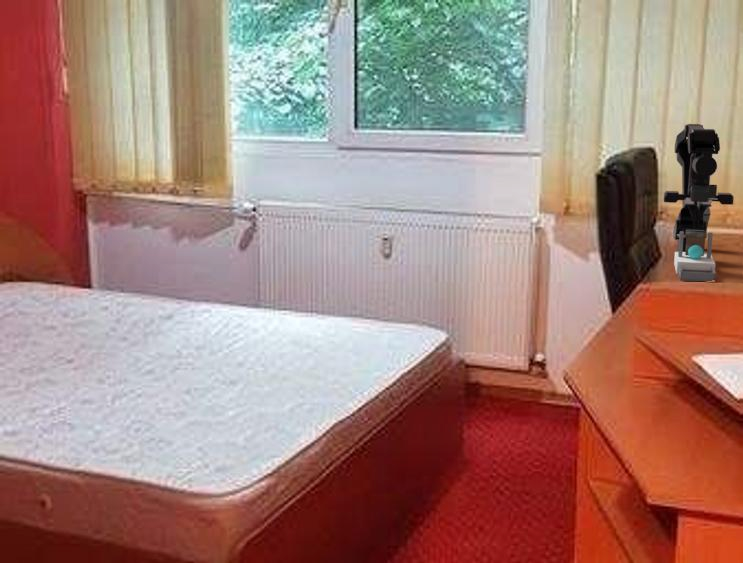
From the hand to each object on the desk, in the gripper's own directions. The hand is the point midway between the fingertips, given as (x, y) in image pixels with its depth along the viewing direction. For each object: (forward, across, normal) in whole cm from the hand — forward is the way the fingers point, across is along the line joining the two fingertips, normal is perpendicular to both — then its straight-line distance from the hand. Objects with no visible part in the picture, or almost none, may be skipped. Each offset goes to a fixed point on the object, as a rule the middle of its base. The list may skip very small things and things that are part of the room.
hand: (695, 227), depth 269 cm
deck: (+12, 0, -3) cm, 12 cm away
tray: (+12, 0, -17) cm, 20 cm away
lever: (+8, 0, -1) cm, 8 cm away
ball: (+6, 0, -6) cm, 9 cm away
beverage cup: (+12, +3, +33) cm, 35 cm away
